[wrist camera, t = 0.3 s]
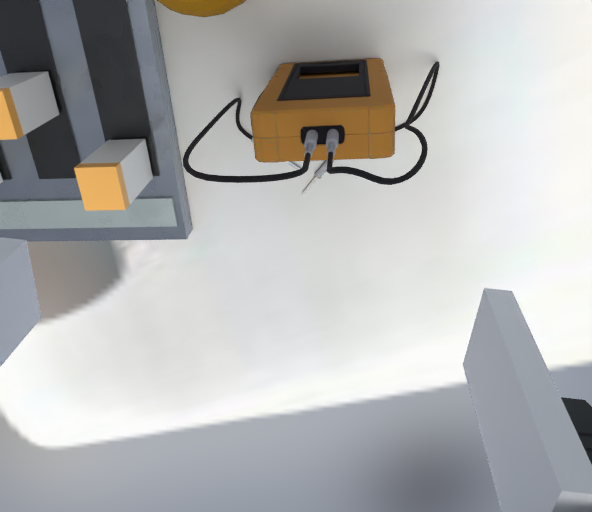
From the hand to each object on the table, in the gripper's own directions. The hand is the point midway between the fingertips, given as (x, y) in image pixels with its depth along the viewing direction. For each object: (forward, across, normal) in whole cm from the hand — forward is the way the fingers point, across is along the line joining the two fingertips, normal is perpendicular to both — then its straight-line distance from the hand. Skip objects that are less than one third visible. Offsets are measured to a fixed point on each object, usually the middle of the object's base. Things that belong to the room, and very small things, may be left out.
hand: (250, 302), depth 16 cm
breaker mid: (+25, -19, -2) cm, 32 cm away
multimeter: (+28, +2, -3) cm, 28 cm away
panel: (+27, -19, -2) cm, 34 cm away
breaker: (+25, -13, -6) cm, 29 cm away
